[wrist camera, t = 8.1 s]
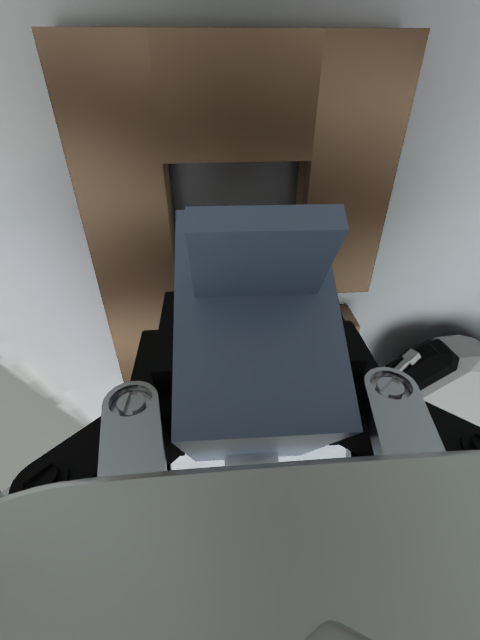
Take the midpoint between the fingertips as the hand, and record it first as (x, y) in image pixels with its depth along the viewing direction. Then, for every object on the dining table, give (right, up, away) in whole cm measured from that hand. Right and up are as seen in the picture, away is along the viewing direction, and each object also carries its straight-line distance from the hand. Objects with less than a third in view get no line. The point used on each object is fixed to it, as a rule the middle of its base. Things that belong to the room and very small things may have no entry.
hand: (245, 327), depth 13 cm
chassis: (0, +4, +5) cm, 6 cm away
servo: (0, +2, +1) cm, 2 cm away
